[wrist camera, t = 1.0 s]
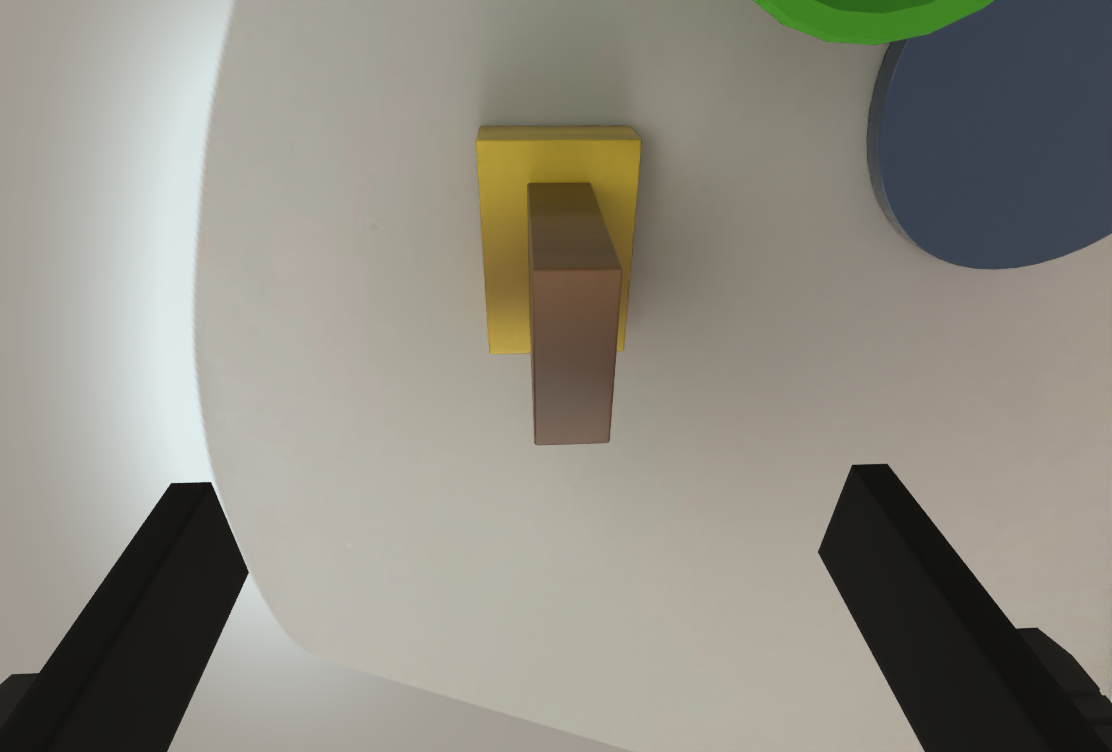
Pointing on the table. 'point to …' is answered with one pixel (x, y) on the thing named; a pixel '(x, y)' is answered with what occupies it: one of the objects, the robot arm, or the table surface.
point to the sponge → (560, 264)
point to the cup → (869, 17)
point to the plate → (998, 134)
